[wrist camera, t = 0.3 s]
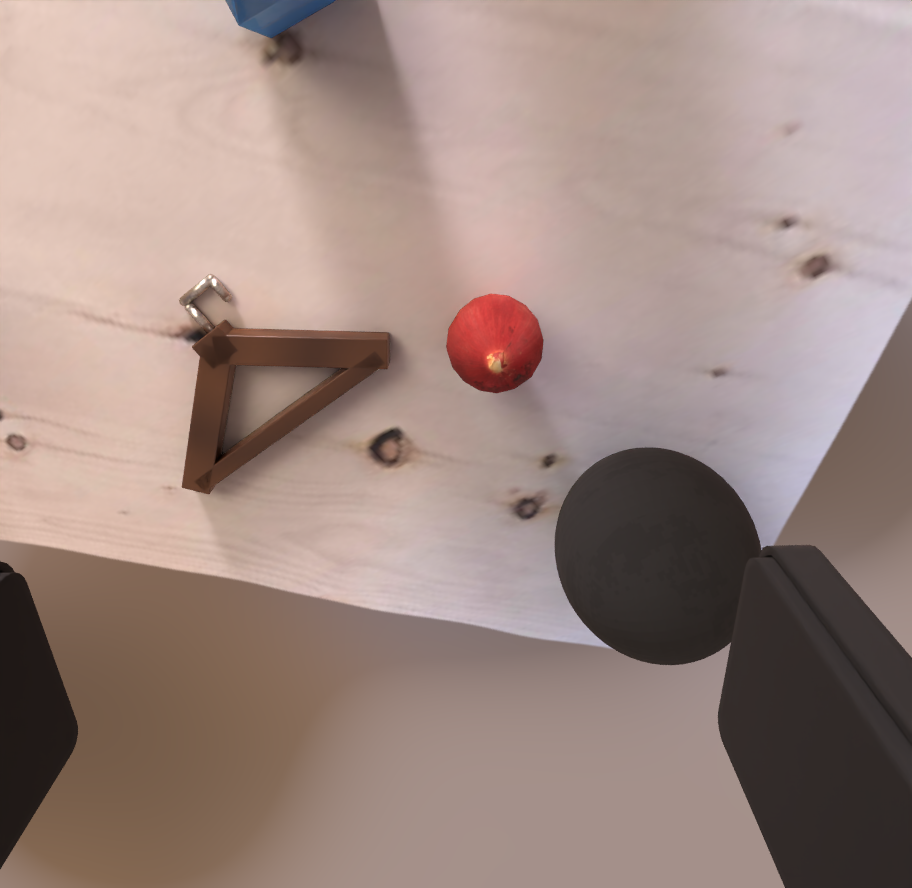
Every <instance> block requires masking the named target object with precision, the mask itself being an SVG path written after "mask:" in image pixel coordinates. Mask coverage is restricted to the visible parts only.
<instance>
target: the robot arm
mask: <svg viewBox="0 0 912 888" xmlns="http://www.w3.org/2000/svg"><path fill="white" fill-rule="evenodd" d="M718 724H719V731H720V735H721V739H722V742H723V744H724V747H725V749H726V751H727V753H728V756H729V758H730V761H731V763H732V765H733V767H734V770H735V772H736V774H737V777H738V779H739V781H740V784H741V786H742V788H743V791H744V793H745V795H746V798H747V800H748V802H749V805H750V807H751V809H752V812H753V814H754V816H755V819H756V821H757V823H758V825H759V828H760V830H761V833H762V835H763V837H764V840H765V842H766V844H767V847H768V849H769V851H770V854H771V856H772V858H773V860H774V863H775V865H776V867H777V870H778V872H779V874H780V877H781V879H782V881H783V884H784V886H785V888H912V658H911V656H910V655H909V654H908V653H907V652H906V651H905V649H904V648H903V647H902V646H901V645H900V644H899V642H898V641H897V640H896V639H895V638H894V637H893V635H892V634H891V633H890V632H889V631H888V630H887V629H886V627H885V626H884V625H883V624H882V623H881V622H880V620H879V619H878V618H877V617H876V615H875V614H874V613H873V612H872V611H871V610H870V608H869V607H868V606H867V605H866V604H865V603H864V602H863V600H862V599H861V598H860V597H859V596H858V594H857V593H856V592H855V591H854V590H853V589H852V587H851V586H850V585H849V584H848V583H847V582H846V580H845V579H844V578H843V577H842V576H841V575H840V573H839V572H838V571H837V570H836V569H835V568H834V566H833V565H832V564H831V563H830V562H829V560H828V559H827V558H826V557H825V556H824V555H823V553H822V552H821V551H820V550H819V549H817V548H816V547H815V546H811V545H794V546H793V545H791V546H790V545H789V546H766V547H764V548H763V549H762V551H761V552H760V554H759V558H750V559H749V560H748V561H747V563H746V567H745V571H744V576H743V582H742V587H741V592H740V598H739V603H738V609H737V614H736V619H735V625H734V630H733V635H732V641H731V646H730V651H729V657H728V662H727V667H726V673H725V678H724V684H723V689H722V694H721V700H720V705H719V711H718ZM77 735H78V725H77V721H76V718H75V715H74V712H73V710H72V707H71V704H70V701H69V698H68V696H67V693H66V690H65V688H64V685H63V682H62V679H61V677H60V674H59V671H58V668H57V665H56V663H55V660H54V657H53V654H52V651H51V649H50V646H49V643H48V640H47V637H46V635H45V632H44V629H43V626H42V623H41V621H40V618H39V615H38V612H37V610H36V607H35V604H34V601H33V598H32V596H31V593H30V590H29V588H28V585H27V582H26V580H25V578H24V577H23V576H22V575H21V574H19V573H15V572H14V570H13V568H12V567H10V566H9V565H8V564H7V563H4V562H0V869H1V867H2V865H3V864H4V862H5V861H6V859H7V857H8V856H9V854H10V852H11V851H12V849H13V848H14V846H15V845H16V843H17V841H18V840H19V838H20V836H21V835H22V833H23V832H24V830H25V828H26V827H27V825H28V823H29V822H30V820H31V819H32V817H33V815H34V814H35V812H36V810H37V809H38V807H39V806H40V804H41V802H42V801H43V799H44V798H45V796H46V794H47V793H48V791H49V789H50V788H51V786H52V784H53V783H54V781H55V780H56V778H57V776H58V775H59V773H60V772H61V770H62V768H63V766H64V765H65V763H66V762H67V760H68V759H69V757H70V755H71V753H72V752H73V749H74V747H75V744H76V741H77Z"/></svg>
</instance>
